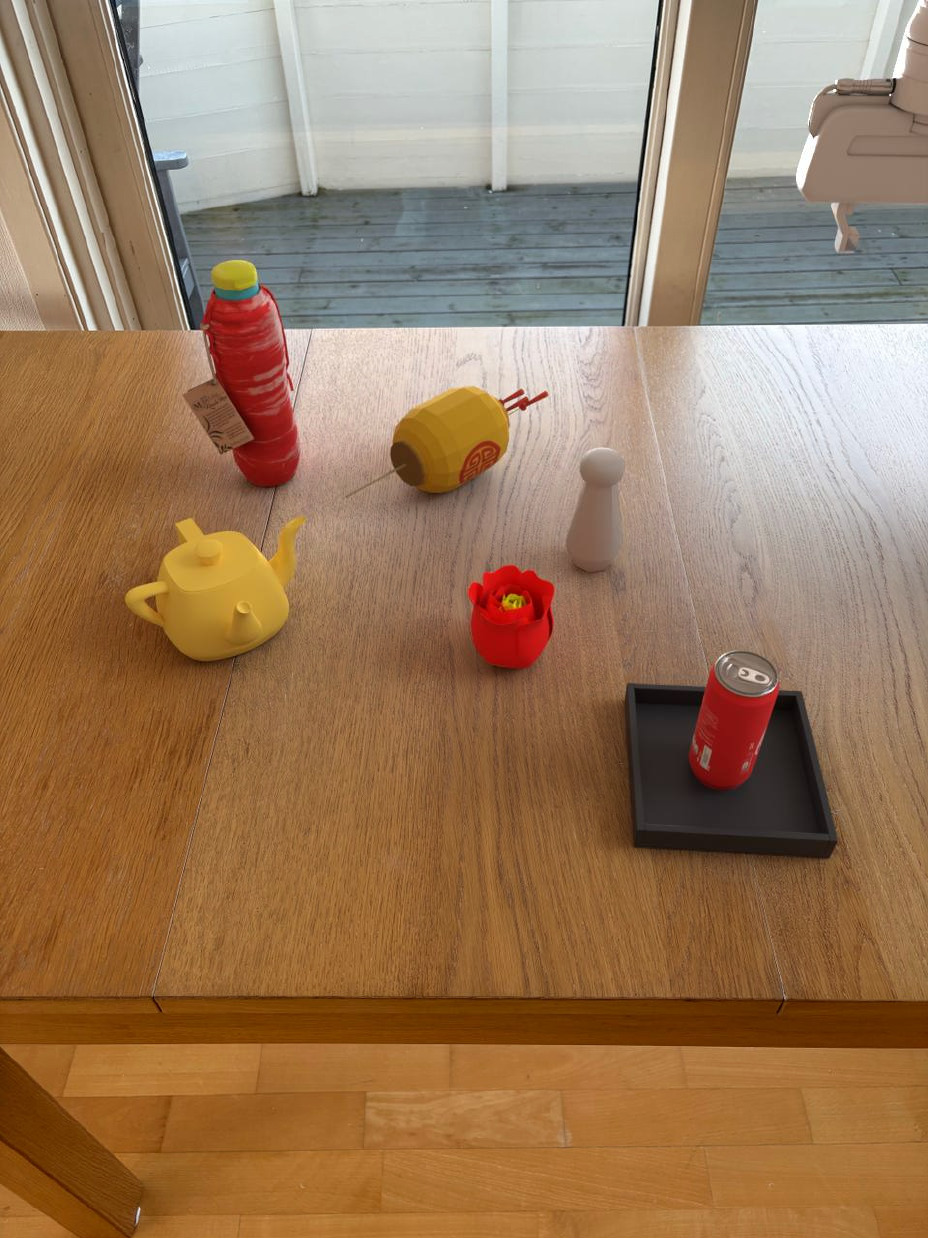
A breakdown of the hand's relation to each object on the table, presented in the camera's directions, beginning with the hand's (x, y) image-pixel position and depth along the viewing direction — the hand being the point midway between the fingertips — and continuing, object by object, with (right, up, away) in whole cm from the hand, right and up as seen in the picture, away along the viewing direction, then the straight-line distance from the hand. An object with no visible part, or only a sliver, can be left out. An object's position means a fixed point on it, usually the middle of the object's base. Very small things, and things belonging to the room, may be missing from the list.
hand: (897, 251), depth 85 cm
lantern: (-40, -16, +26) cm, 51 cm away
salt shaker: (-25, -27, +15) cm, 40 cm away
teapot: (-61, -34, +8) cm, 70 cm away
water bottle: (-62, -17, +26) cm, 69 cm away
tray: (-17, -46, -5) cm, 49 cm away
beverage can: (-18, -46, -5) cm, 49 cm away
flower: (-34, -36, +5) cm, 50 cm away
